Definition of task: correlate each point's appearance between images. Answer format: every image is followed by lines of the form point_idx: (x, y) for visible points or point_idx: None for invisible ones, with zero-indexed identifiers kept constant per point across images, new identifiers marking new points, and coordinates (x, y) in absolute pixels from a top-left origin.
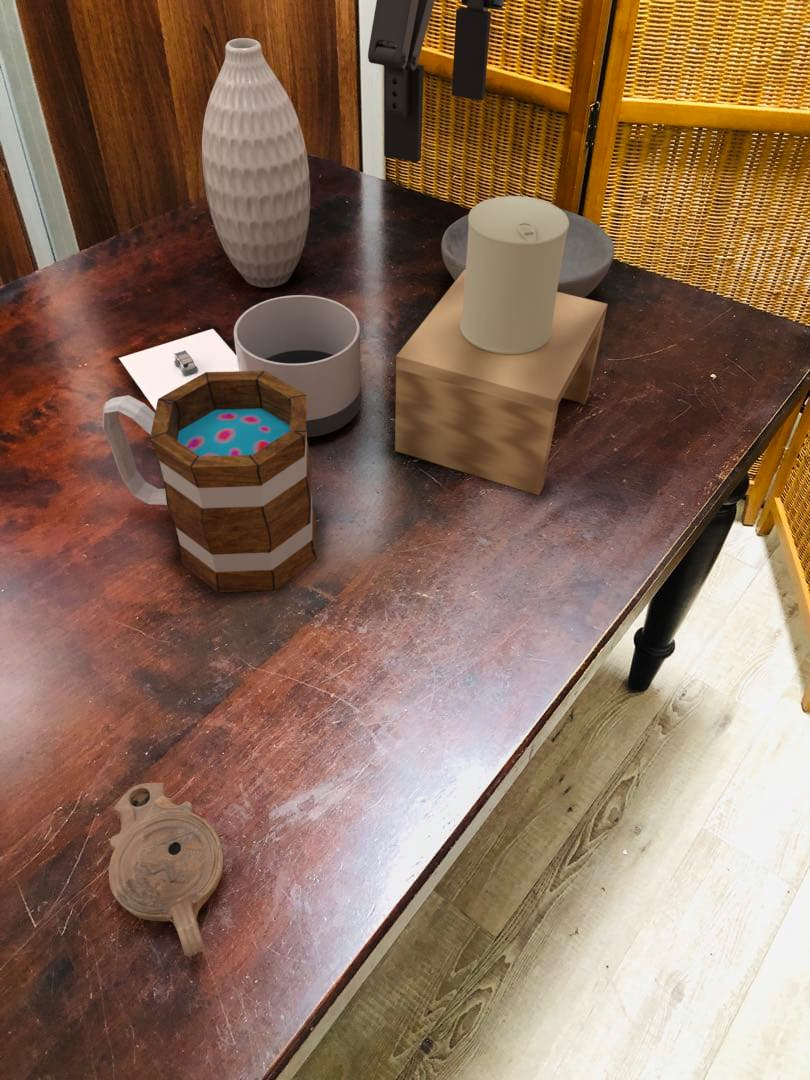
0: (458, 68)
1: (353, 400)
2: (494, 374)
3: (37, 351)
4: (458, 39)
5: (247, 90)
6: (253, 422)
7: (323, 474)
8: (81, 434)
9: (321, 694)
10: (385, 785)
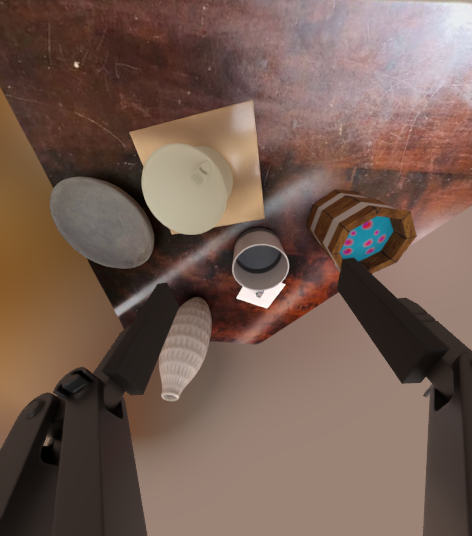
0: (167, 324)
1: (256, 231)
2: (250, 158)
3: (277, 324)
4: (156, 354)
5: (184, 374)
6: (350, 239)
7: (287, 218)
8: (306, 293)
9: (411, 135)
10: (464, 66)
